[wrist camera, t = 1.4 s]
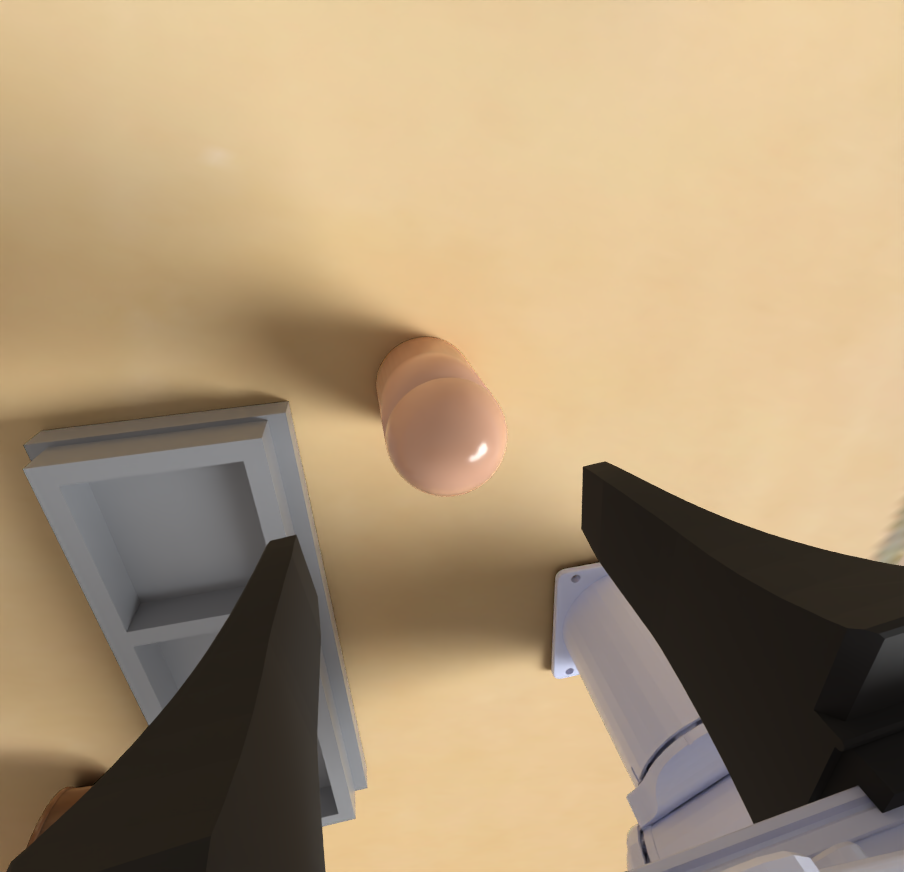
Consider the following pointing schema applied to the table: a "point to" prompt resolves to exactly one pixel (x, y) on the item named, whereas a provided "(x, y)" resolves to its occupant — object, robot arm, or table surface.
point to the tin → (57, 809)
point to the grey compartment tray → (191, 550)
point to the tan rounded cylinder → (439, 418)
